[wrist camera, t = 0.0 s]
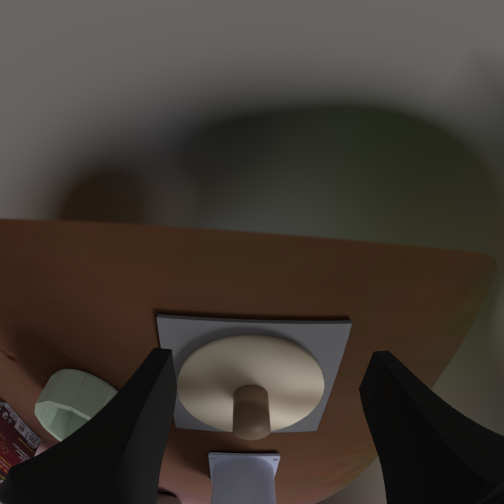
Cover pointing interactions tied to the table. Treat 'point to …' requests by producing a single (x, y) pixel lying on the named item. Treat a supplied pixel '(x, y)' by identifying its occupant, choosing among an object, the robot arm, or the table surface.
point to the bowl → (71, 401)
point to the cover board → (250, 384)
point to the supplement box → (14, 440)
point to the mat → (300, 332)
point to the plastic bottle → (167, 499)
